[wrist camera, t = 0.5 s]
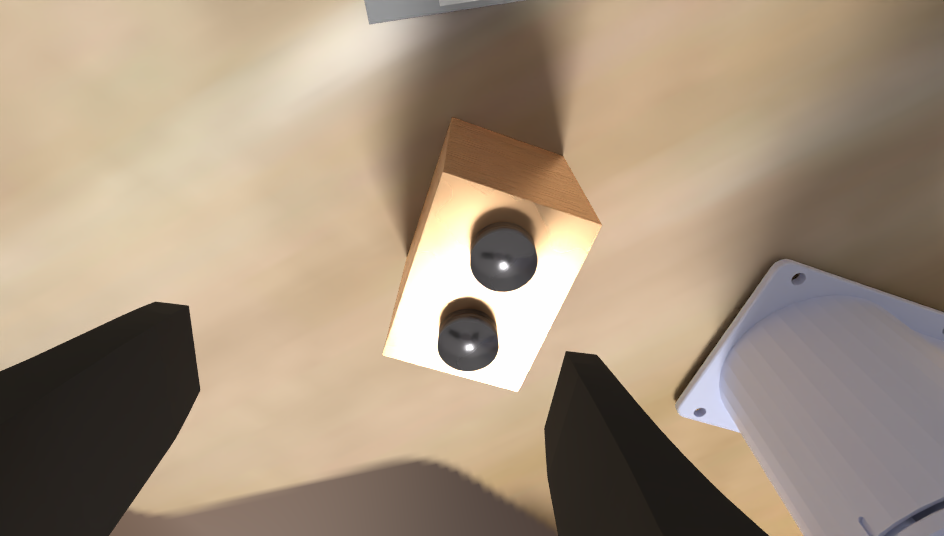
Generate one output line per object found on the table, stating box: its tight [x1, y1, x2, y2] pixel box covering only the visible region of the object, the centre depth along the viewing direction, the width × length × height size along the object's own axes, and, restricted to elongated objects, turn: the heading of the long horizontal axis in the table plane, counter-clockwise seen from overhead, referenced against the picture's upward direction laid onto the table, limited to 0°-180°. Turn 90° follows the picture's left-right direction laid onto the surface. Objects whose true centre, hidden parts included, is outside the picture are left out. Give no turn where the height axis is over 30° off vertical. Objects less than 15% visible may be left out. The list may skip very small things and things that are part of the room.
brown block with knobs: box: [383, 117, 602, 392], centre depth 16 cm, size 4×6×7 cm
